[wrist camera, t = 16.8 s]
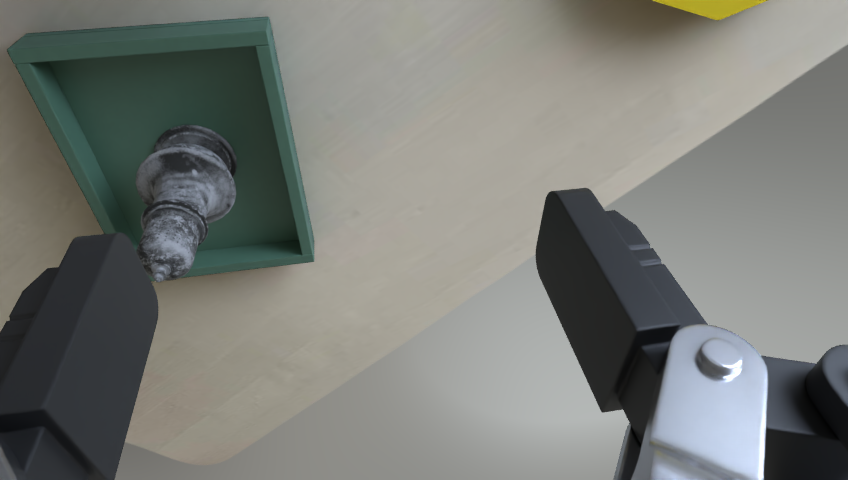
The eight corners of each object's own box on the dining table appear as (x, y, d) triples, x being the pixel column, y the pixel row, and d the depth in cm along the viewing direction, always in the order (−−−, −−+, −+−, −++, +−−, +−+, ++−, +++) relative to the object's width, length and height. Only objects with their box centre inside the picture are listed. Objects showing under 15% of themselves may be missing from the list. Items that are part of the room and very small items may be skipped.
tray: (25, 33, 30) (5, 49, 28) (269, 16, 32) (266, 30, 30) (139, 261, 41) (130, 284, 39) (314, 240, 43) (314, 262, 41)
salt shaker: (196, 208, 39) (160, 335, 29) (128, 150, 35) (64, 275, 26) (259, 168, 37) (243, 287, 28) (196, 103, 34) (153, 217, 25)
